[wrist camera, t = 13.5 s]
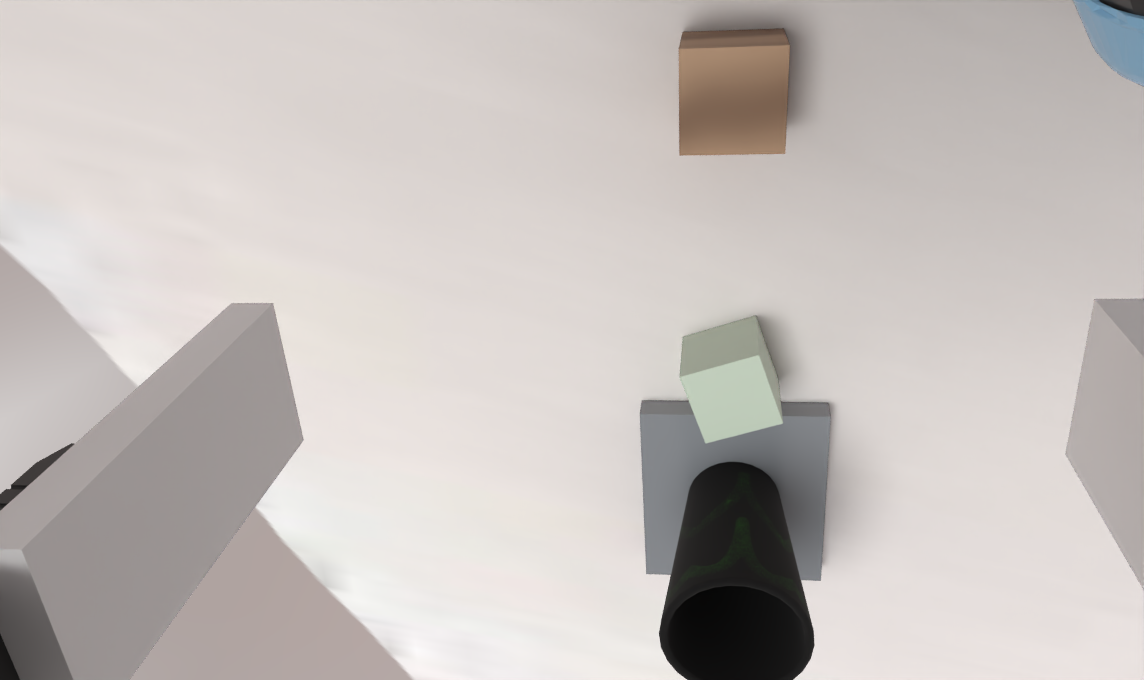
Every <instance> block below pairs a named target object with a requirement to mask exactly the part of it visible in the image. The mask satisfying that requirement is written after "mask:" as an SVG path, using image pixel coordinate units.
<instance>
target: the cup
mask: <svg viewBox="0 0 1144 680" xmlns="http://www.w3.org/2000/svg"><path fill="white" fill-rule="evenodd" d="M659 636H660V643H661V648H662V650H663V652H664V654H665V656H666V659H667V661H668V662H669V663H670V664H671V665H672V666H673V668H674V669H675V670H676V671H677V672H678V673H679V674H680V675H682V676H683V677H684V678H686V679H687V680H793V679H794V678H795V677H797V676H798V675H799V674H800V673H801V672H802V671H803V670H804V668H805V667H806V665H807V664H808V662H809V661H810V659H811V656H812V652H813V648H814V631H813V627H812V623H811V619H810V615H809V611H808V607H807V603H806V599H805V595H804V591H803V587H802V583H801V579H800V575H799V571H798V567H797V563H796V559H795V555H794V551H793V547H792V543H791V539H790V535H789V531H788V527H787V523H786V519H785V515H784V511H783V507H782V503H781V499H780V495H779V491H778V489H777V486H776V484H775V483H774V481H773V480H772V479H771V477H770V476H769V475H768V474H766V473H765V472H764V471H763V470H761V469H759V468H757V467H755V466H753V465H750V464H746V463H743V462H724V463H718V464H715V465H713V466H710V467H708V468H707V469H705V470H704V471H702V472H701V473H699V475H698V476H697V477H696V478H695V479H694V480H693V482H692V484H691V486H690V488H689V493H688V497H687V502H686V507H685V511H684V516H683V521H682V525H681V530H680V535H679V540H678V544H677V549H676V554H675V558H674V563H673V568H672V572H671V577H670V582H669V587H668V591H667V596H666V601H665V605H664V610H663V615H662V619H661V625H660V631H659Z"/></svg>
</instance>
